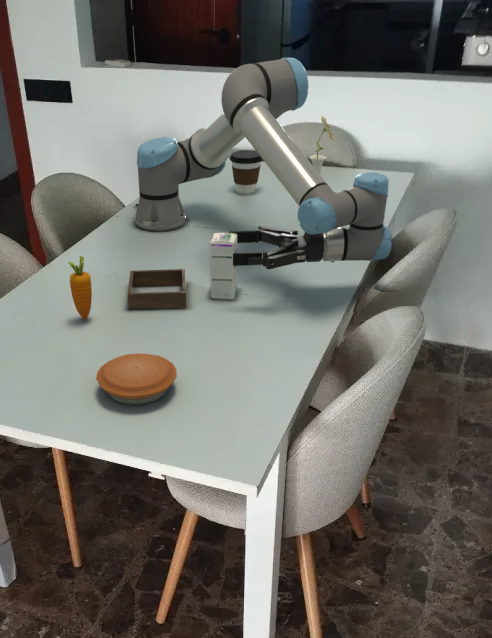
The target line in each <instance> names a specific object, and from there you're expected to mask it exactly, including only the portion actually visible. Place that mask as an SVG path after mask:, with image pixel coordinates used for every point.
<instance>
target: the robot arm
mask: <svg viewBox="0 0 492 638" xmlns="http://www.w3.org/2000/svg"><path fill="white" fill-rule="evenodd" d="M308 95H309V78H308V74H307V71H306V68H305V67H304V65H303V64H302V62H301V61H300V60H298V59H296V58H294V57H282V58H280V59H275V60H267V61H260V62H253V63H246V64H242V65H240V66H237V68H235V69H234V70H233V71H231V72H230V74H229V75H228V76H227V77H226V79H225V81H224V83H223V86H222V89H221V99H220V100H221V105H222V106H221V107H222V112H223V113H221V114H220V115H219V116H218V117H217V118H216V119H215V120H214V121H213V122H212V123H211V124H210V125H209V126H208V127H202V128H199V129H197V130H195V132H194V133H193V134H192V135H190V137H187V138H185V139H182V140H177V139H175V138H174V137H169V136H162V137H154V138H152V139H151V138H150V139H149V140H146V141H144V142H143V143H141V144H140V145H139V147H138V148H137V153H136V166H137V177H138V178H137V179H138V191H139V192H138V193H139V199H138V203H137V202H136V203H135V206H136V211H135V216H134V224H135V226H136V227H137V228H139V229H141V230H144V231H148V232H167V231H172V230H176V229H179V228H181V227H183V226H184V225H185V224H186V222H187V220H186V213H185V210H184V206H183V205H182V201H181V198H180V194H179V193H180V192H179V191H180V190H179V185H182V184H185V183H190V182H193V181H198V180H203V179H208V178H212V177H215V176H217V175H219V174H221V172H223V170H224V169H225V167H226V165H227V163H226V161H227V160H228V153H229V152H230V151H231V150H232V149H233V148H234V147H236V146H237V145H238V144H239V143H241V142H242V141H243V140H244V139H246V140H247V141H248V142H249V144H250V145H251V146H252V148H253V149H254V151H257V153H258V154H259V155H260V156H261V158H262V159H263V162H264V163H265V164H266V166H267V167H268V168H269V170H270V171H271V172H272V173H273V175H275V177H276V178H277V179H278V181H279V182H280V183H281V185H282V186H283V187H284V189H285V190H286V191H287V192H288V194H289V195H290V196H291V198H292V199H293V200H294V201H295V203H296V204H297V206H299V207H298V210H297V220H298V221H299V227H300V228H301V229H302V231H304V233H303V235H299V230H296V229H293V230H292V229H291V230H290V229H282V228H274V227H267V226H261V225H260V226H258V227H257V229H255V230H229V231H228V233H235V234H237V244H253V243H255V244H258V243H260V242H261V243H265V244H269V245H272V246H277V247H278V248H275V249H273V250H271V251H262V252H260V251H259V252H258V251H257V252H237V253H233V266H237V267H241V266H242V267H243V266H262V267H265V268H266V270H268V271H269V270H274V269H278V268H281V267H286V266H290V265H294V264H301V263H320V262H321V261H323V262H330V263H333V264H334V263H335V262H344V261H347V262H348V261H349V262H350V261H356V262H357V261H366V262H370V261H380V260H384V259H386V258H388V257H389V255H390V253H391V250H392V245H393V243H392V240H393V236H392V235H393V234H392V230H391V229H390V227H389V226H384V221H385V216H386V215H385V214H386V207H387V201H388V197H389V180H390V179H389V178H388V176H386V175H385V174H383V173H380V172H373V171H372V172H371V171H369V172H368V171H367V172H361V173H359V174H357V175H356V176H355V177H354V180H353V184H352V187H350V188H346V189H342V190H338V191H334V190H333V189H332V188H331V186H330V185H329V184H328V183H327V181H326V180H325V179H324V178H323V177H322V175H321V173H320V174H319V173H318V172H317V170H316V169H315V168H314V167H313V164H312V162H311V161H310V160H309V159H308V157H306V155H305V154H304V153H303V151H301V149H300V148H299V146H298V145H297V144H296V143H295V141H293V139H292V138H291V136H290V135H289V134H288V132H286V130H285V129H284V128H283V126H282V125H281V124H280V122H279V121H278V120H277V119H279V118H280V117H281V116H282V115H283V114H284V113H286V112H289V111H296V110H298V109H301V108H302V107H303V106H304V105H305V103H306V101H307V99H308ZM347 226H349V227H347Z"/></svg>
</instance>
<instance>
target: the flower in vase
mask: <svg viewBox="0 0 492 638" xmlns="http://www.w3.org/2000/svg"><path fill="white" fill-rule="evenodd" d="M320 120H321V123H322V125H323V130H322V131H321V133H320V135H319V137H318V140H316V150H315V151H314V152H315V153H316V154H313V155H310V156H309V159H310V162H311V164H312V165H313V167H314V168H315V169H316V170H317V172H318V173H319V174H320V175H321V171H322V166H323V163H324V162H325V160H326V159H327V156H326V155H322V154H319V152H320V151H322V150H324V148H323V147H322V146H320V144H319V143H320V140H321V138H322V136H323V134H324V132H326V134H327V136H328V137H329V139H330V140H331V141H334V140H335V137H334V133H333V131H332V130H331V129H330V128H331V126H330V124H328V122H327V118H326V117H325V116H324V115H322V116H321V117H320Z"/></svg>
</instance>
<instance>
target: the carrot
mask: <svg viewBox="0 0 492 638" xmlns="http://www.w3.org/2000/svg"><path fill="white" fill-rule="evenodd" d="M84 259H85V257H84V256H83V255H80V256H79V265H78V264H74V263H73V262H71V261H68V262H67V263H68V264H69V266H70V267H71V268H72V270H73V271H74V272H73V273H71V274H70V275H69V285H70V292H71V297H72V300H73V303H74V307H75V309H76V312H77V313H78V314H79V316H80V317H81V319H82V320H84V321H87V319H88V318H89V315H90V313H91V308H92V299H93V290H92V278H91V274H90V273H88V272H85V271H84V265H85V262H84V261H85V260H84Z"/></svg>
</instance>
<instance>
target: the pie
mask: <svg viewBox="0 0 492 638" xmlns="http://www.w3.org/2000/svg"><path fill="white" fill-rule="evenodd" d="M177 373H178V372H177V369H176V367H175V364H174V363H173V362H171V361H170V360H169V359H167V358H165V357H162V356H160V355H157V354H156V355H155V354H149V353H128V354H124V355H123V354H122V355H121V356H117V357H115V358H112V359H110V360H108V361H107V362H106V363H104V364H102V365H101V366H100V368H99V369H98V371H96V376H95V377H96V378H95V379H96V382H97V384H98V385H99V386H100V387H101V388H102V389H103V391H104V392H106V394H108V395H109V396H110V398H112V399H113V400H114V401H115V402H118V403H120V404H123V405H128V406H140V405H147V404H151V403H153V402H156V401H157V400H160V398H162V397H163V396H164V395H165V394H166V392H167V391H168V389H169V388H170V387H171V386H172V385H173V383H174V382H175V380H176V378H177V377H178V376H177V375H178V374H177Z"/></svg>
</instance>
